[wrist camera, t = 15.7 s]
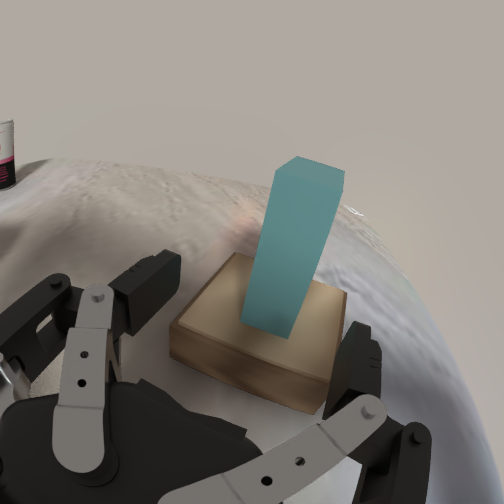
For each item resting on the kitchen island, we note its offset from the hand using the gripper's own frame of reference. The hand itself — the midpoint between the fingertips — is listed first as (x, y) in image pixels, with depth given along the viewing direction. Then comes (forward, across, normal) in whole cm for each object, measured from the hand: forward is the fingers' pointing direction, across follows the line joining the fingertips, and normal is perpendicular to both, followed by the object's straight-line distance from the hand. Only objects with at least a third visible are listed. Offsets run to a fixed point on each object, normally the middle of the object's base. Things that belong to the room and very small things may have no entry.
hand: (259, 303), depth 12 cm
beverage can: (+15, +63, +12) cm, 66 cm away
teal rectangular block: (+10, 0, +8) cm, 13 cm away
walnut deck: (+10, 0, +12) cm, 16 cm away
